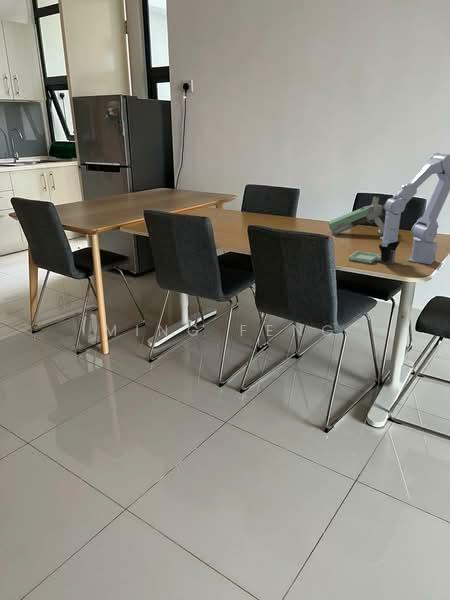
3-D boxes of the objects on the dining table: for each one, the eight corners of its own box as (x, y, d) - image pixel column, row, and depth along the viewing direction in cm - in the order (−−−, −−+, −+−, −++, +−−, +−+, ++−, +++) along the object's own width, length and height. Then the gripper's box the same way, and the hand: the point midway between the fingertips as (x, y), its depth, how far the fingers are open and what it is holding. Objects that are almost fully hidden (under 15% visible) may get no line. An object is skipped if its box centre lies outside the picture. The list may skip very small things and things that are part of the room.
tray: (379, 258, 199) (379, 254, 198) (371, 264, 190) (371, 260, 190) (357, 254, 204) (357, 250, 203) (348, 260, 196) (348, 256, 195)
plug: (393, 262, 192) (395, 250, 190) (391, 264, 189) (393, 252, 187) (378, 260, 195) (380, 248, 193) (375, 262, 193) (377, 249, 191)
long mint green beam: (396, 229, 238) (386, 194, 231) (339, 252, 242) (327, 218, 235) (391, 226, 245) (382, 192, 238) (335, 249, 249) (324, 215, 242)
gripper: (387, 223, 194) (383, 254, 199) (376, 230, 183) (372, 262, 188) (404, 225, 190) (399, 256, 195) (393, 232, 179) (389, 265, 184)
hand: (387, 259), depth 191 cm, fingers open, 6 cm apart
